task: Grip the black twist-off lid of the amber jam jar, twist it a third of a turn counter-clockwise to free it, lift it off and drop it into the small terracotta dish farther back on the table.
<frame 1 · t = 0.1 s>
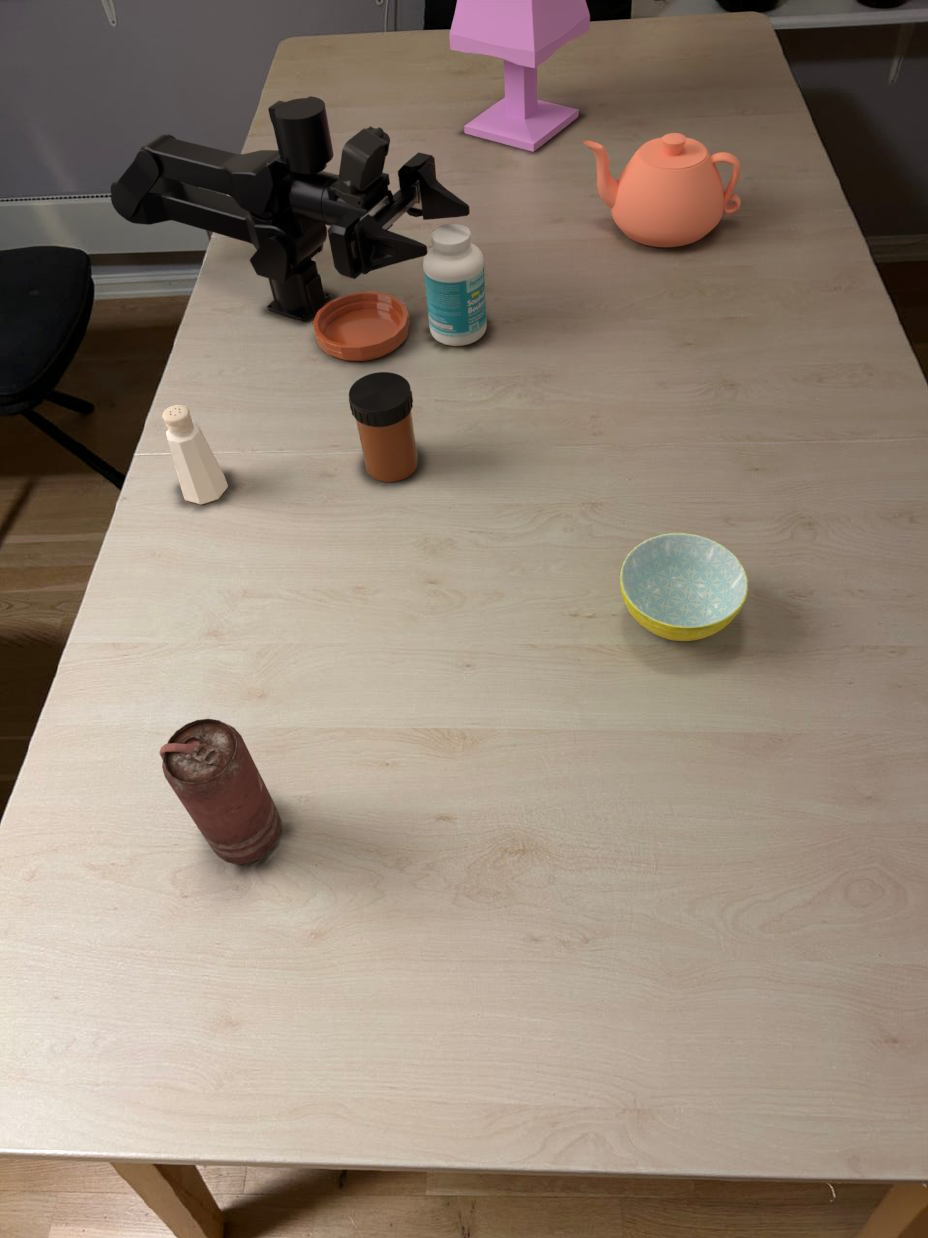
hand: (448, 229, 105), 17 cm above the table, tool horizontal, fingers open, 9 cm apart
lid: (380, 394, 99), point 10 cm above the table, screwed on, not yet turned
teapot: (657, 226, 134), on the table
can: (246, 834, 79), on the table
pepper shaker: (205, 489, 106), on the table
jam jar: (391, 463, 106), on the table
pill bottle: (459, 332, 121), on the table
bowl: (675, 620, 90), on the table
dish: (363, 334, 122), on the table
pink table lamp: (521, 125, 156), on the table
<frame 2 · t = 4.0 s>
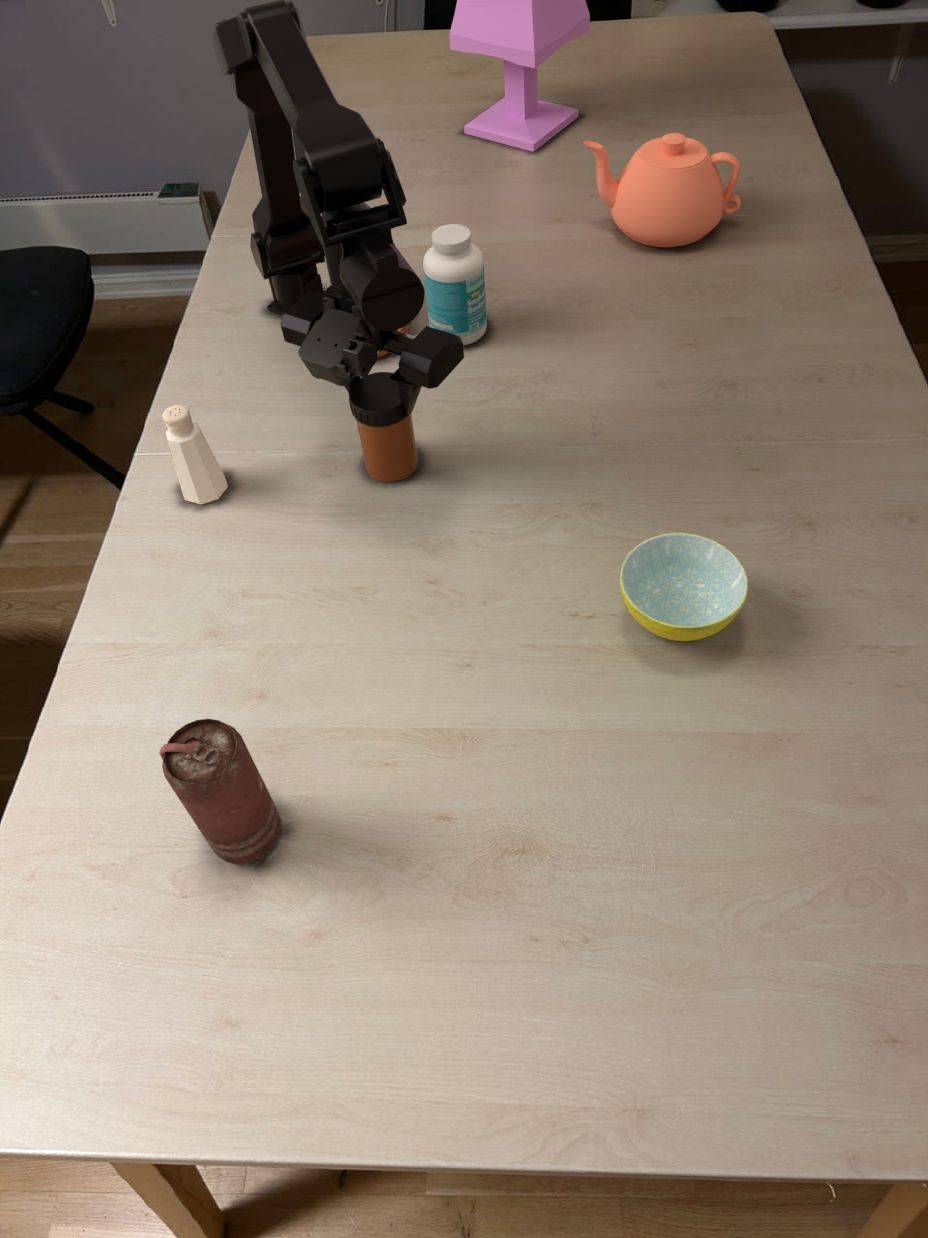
hand: (381, 404, 100), 8 cm above the table, tool pointing down, fingers closed on lid, 6 cm apart
lid: (380, 394, 99), point 10 cm above the table, screwed on, not yet turned, touching gripper
everything else where it was.
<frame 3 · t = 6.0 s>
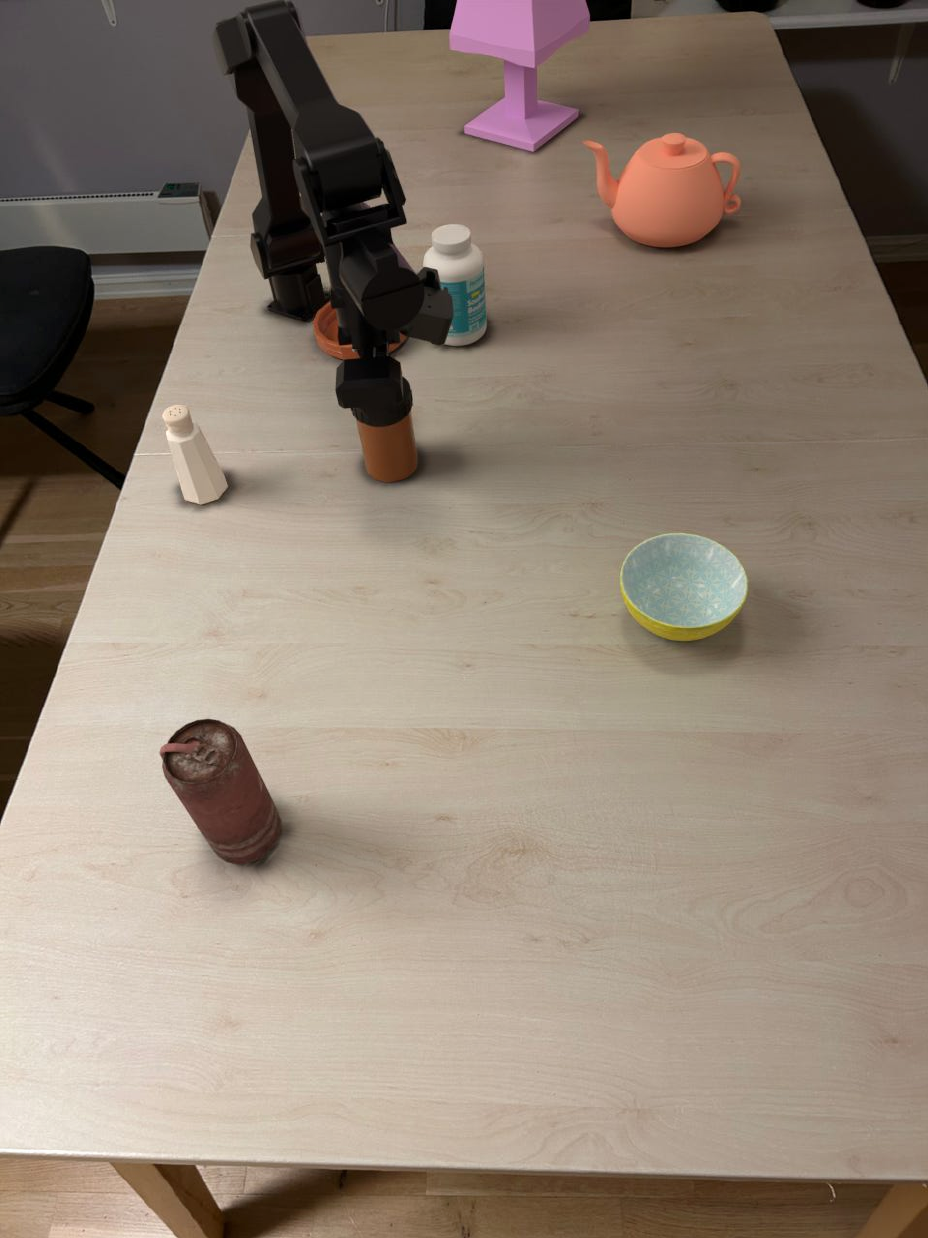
hand: (381, 404, 100), 8 cm above the table, tool pointing down, fingers closed on lid, 6 cm apart
lid: (380, 393, 99), point 10 cm above the table, off its thread, touching gripper
everything else where it was.
when the fingers open (1 cm above the table, at t = 13.1 s): lid stays where it is, resting on dish.
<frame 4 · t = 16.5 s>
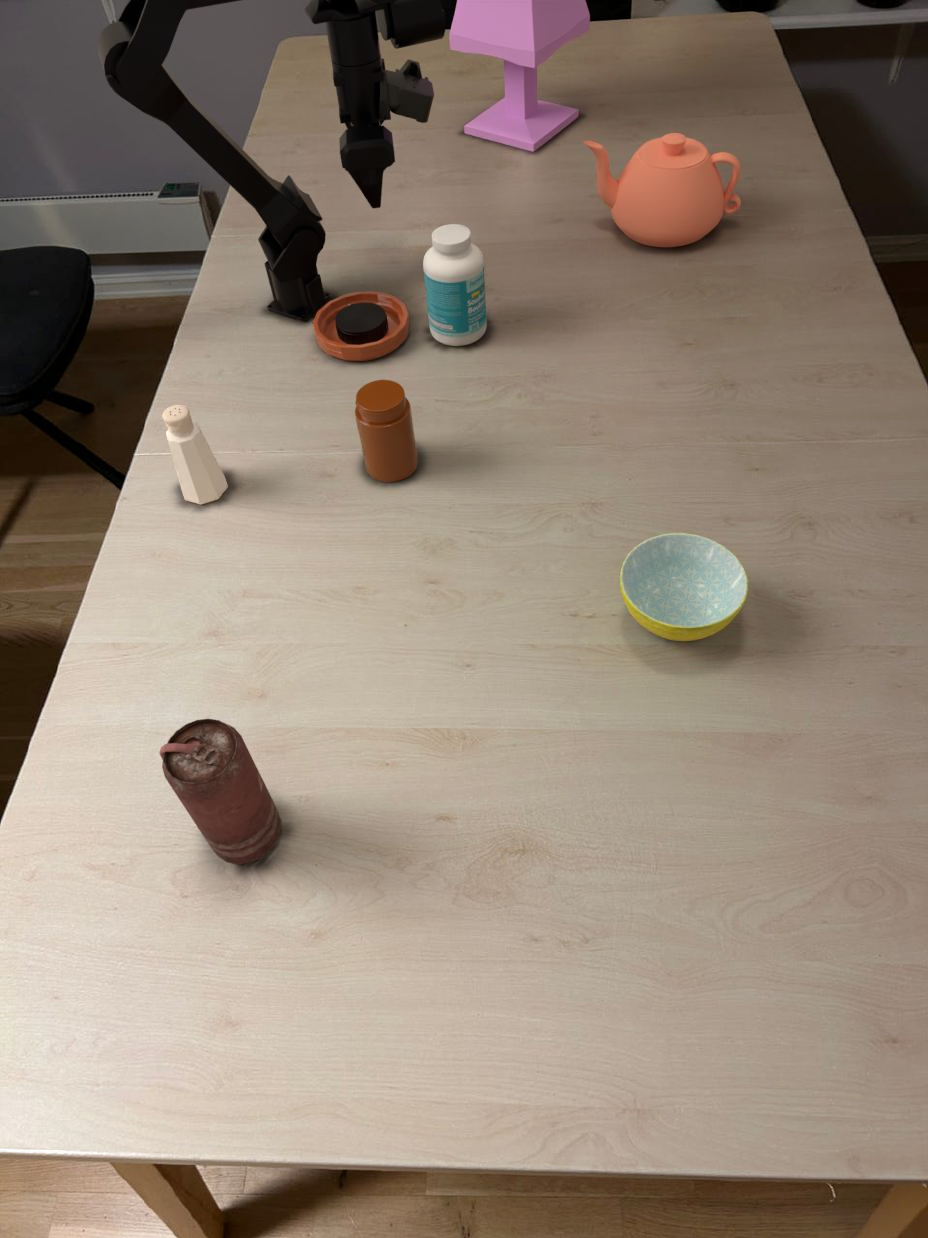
hand: (375, 189, 119), 13 cm above the table, tool pointing down, fingers open, 9 cm apart
lid: (361, 319, 120), point 2 cm above the table, off its thread, touching dish
everything else where it was.
at the end: the gripper is holding nothing; lid inside the target area in the dish (0.1 cm from its centre), point 2.3 cm above the dish's base; lid point 2.3 cm above the table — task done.
